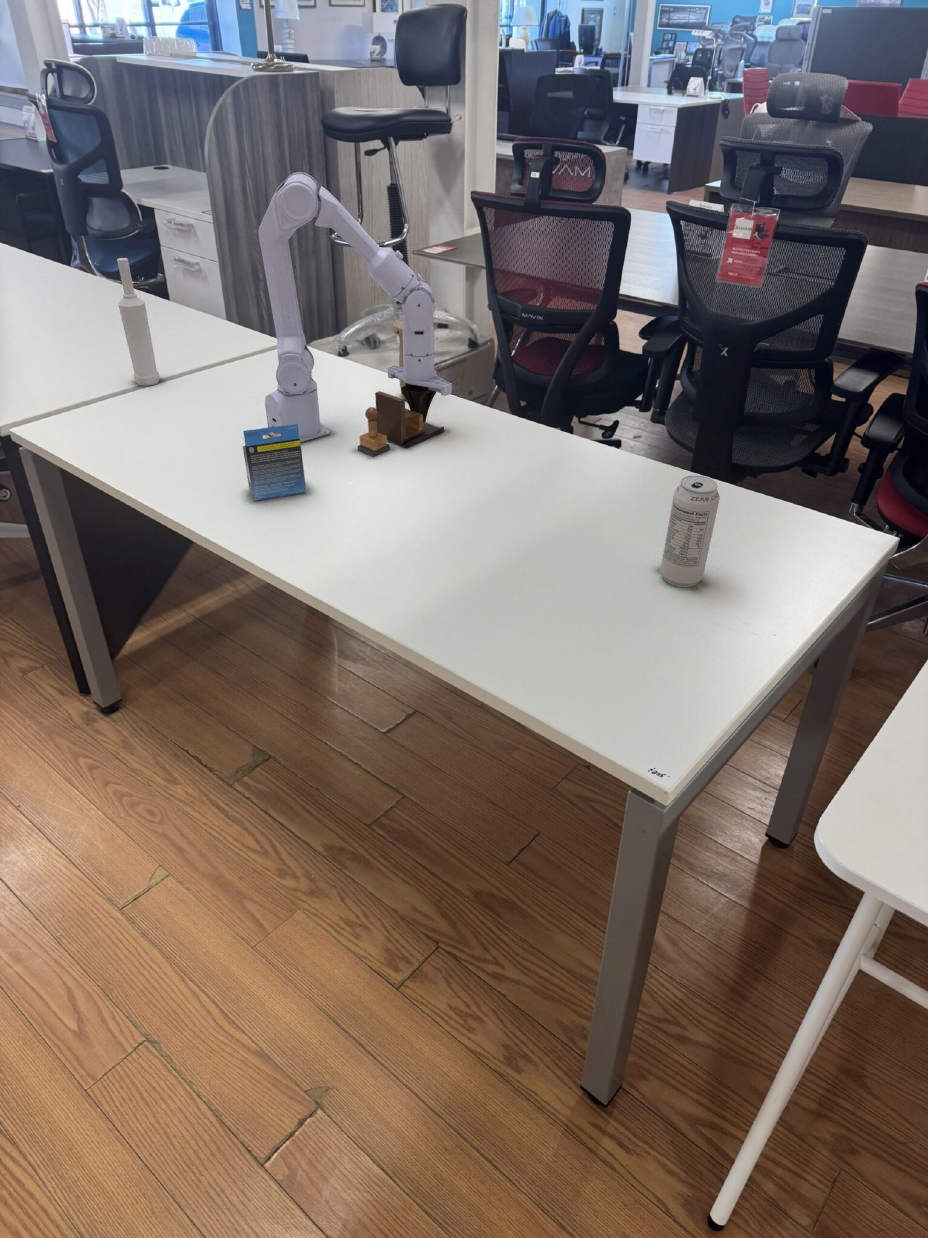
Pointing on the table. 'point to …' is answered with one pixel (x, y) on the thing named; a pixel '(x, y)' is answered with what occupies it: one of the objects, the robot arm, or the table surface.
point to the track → (429, 432)
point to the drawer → (397, 419)
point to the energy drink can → (690, 531)
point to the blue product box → (274, 462)
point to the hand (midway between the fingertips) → (419, 422)
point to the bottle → (137, 330)
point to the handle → (400, 347)
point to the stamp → (373, 436)
